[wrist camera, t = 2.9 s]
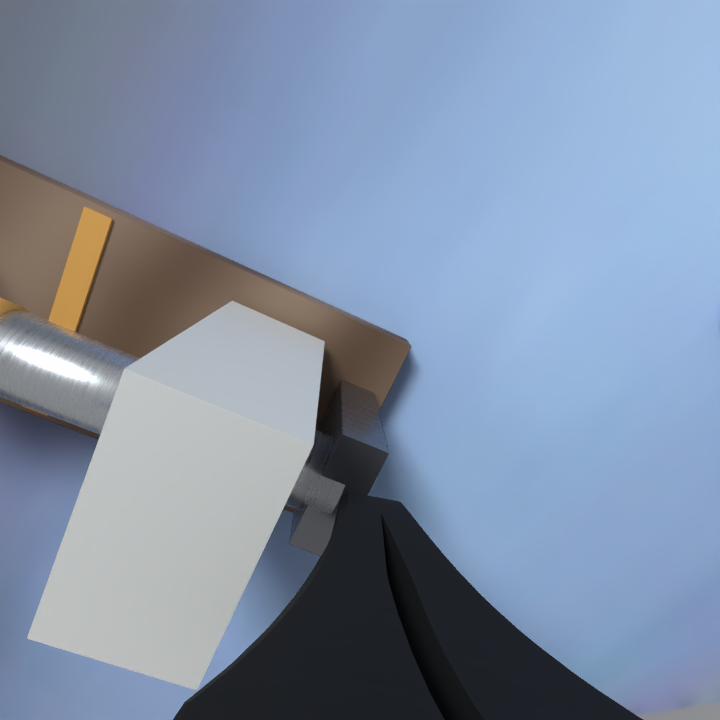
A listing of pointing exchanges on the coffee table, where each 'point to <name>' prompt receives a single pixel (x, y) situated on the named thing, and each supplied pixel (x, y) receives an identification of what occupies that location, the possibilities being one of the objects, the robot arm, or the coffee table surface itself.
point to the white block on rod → (183, 495)
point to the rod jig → (167, 330)
